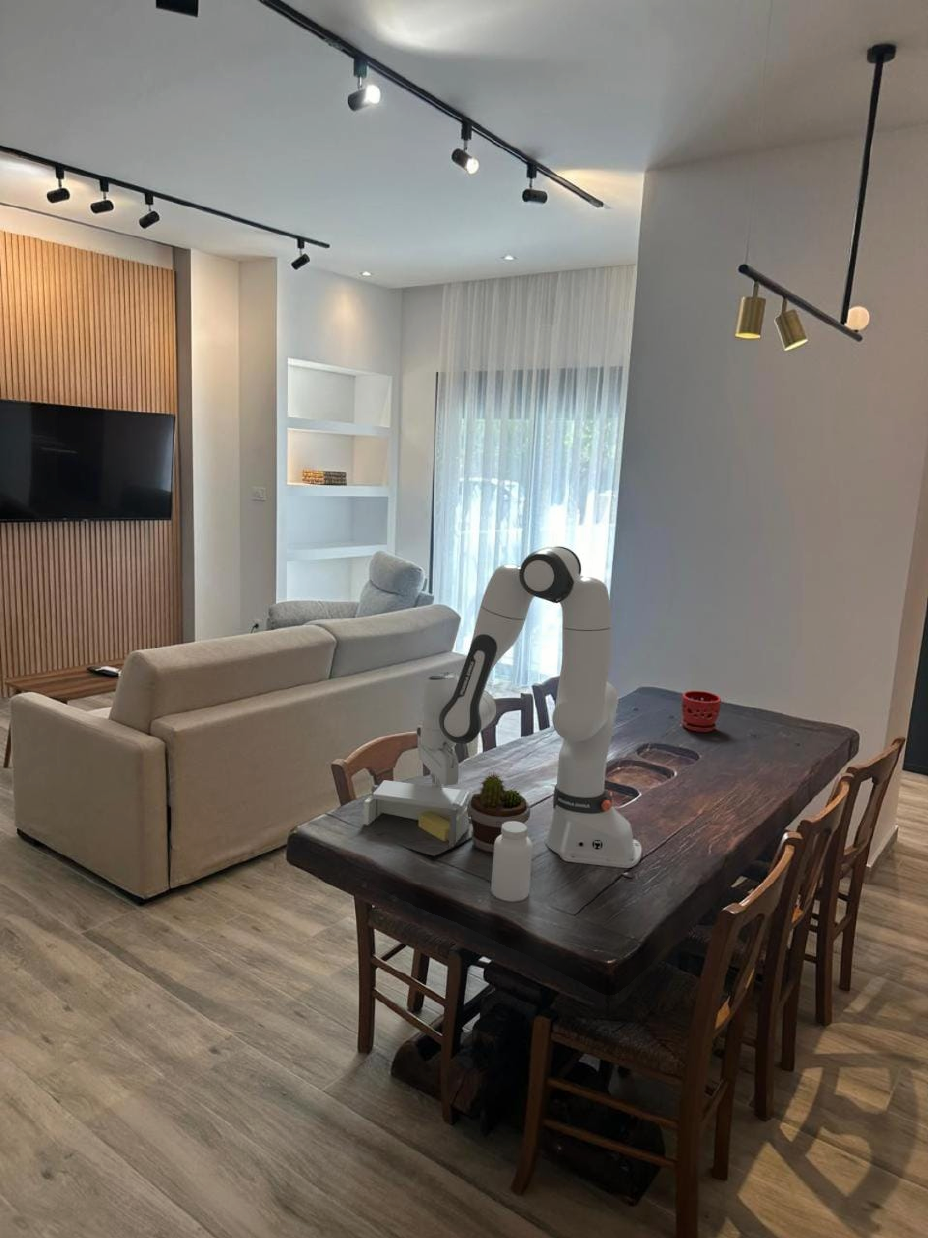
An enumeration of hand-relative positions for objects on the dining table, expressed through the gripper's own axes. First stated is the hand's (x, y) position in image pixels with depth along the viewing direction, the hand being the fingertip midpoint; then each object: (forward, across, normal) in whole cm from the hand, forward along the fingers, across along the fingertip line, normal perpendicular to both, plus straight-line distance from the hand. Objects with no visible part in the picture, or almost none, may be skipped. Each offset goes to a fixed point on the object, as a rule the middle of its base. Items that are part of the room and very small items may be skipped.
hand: (436, 789), depth 208 cm
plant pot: (+7, +43, -113) cm, 121 cm away
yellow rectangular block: (+7, -9, +3) cm, 12 cm away
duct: (+7, -5, +7) cm, 11 cm away
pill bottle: (+7, -40, -2) cm, 41 cm away
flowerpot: (+7, -20, -8) cm, 23 cm away
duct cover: (0, -3, +6) cm, 7 cm away
